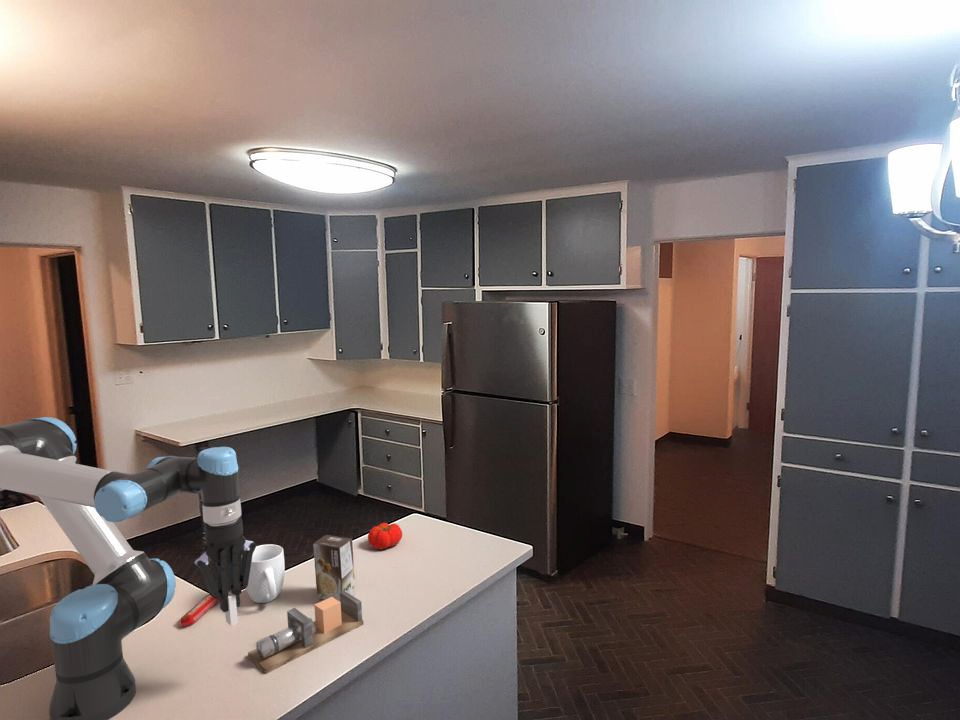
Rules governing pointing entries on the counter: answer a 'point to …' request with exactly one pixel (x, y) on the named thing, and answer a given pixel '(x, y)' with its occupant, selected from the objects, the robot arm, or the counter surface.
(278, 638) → the shaft
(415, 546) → the counter surface
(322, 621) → the block
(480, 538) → the counter surface
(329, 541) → the coffee box
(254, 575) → the mug
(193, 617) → the candy bar
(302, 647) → the rail
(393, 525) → the tomato
